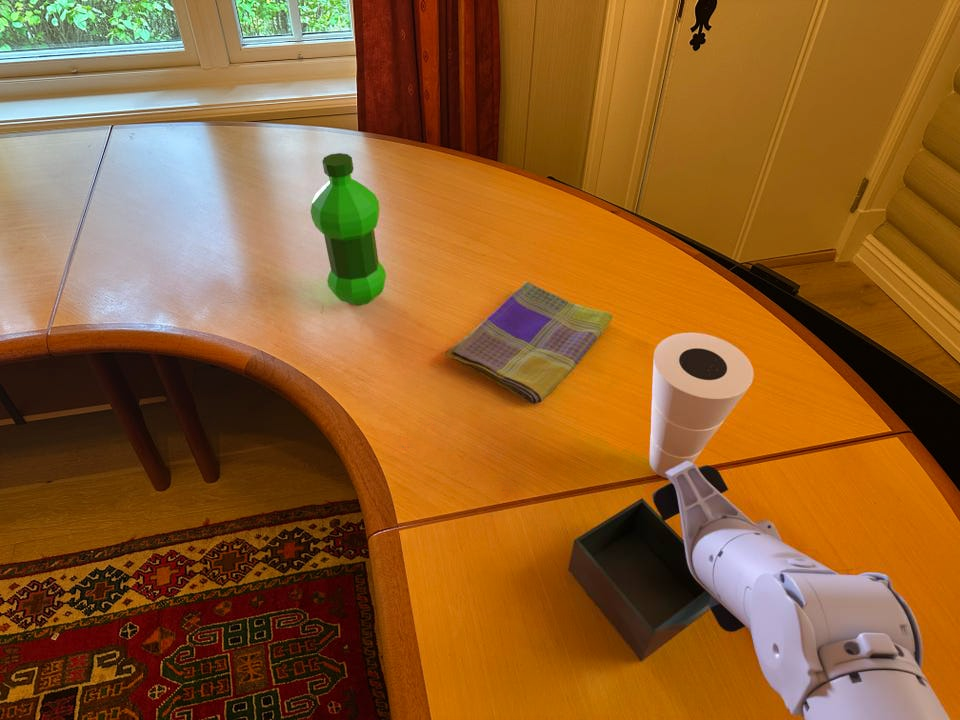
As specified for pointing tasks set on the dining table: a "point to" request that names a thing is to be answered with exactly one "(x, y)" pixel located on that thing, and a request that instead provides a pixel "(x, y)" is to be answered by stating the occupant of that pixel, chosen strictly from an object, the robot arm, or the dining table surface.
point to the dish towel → (531, 342)
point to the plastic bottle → (349, 232)
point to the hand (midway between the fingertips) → (690, 526)
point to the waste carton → (635, 575)
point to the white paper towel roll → (692, 395)
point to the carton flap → (687, 614)
